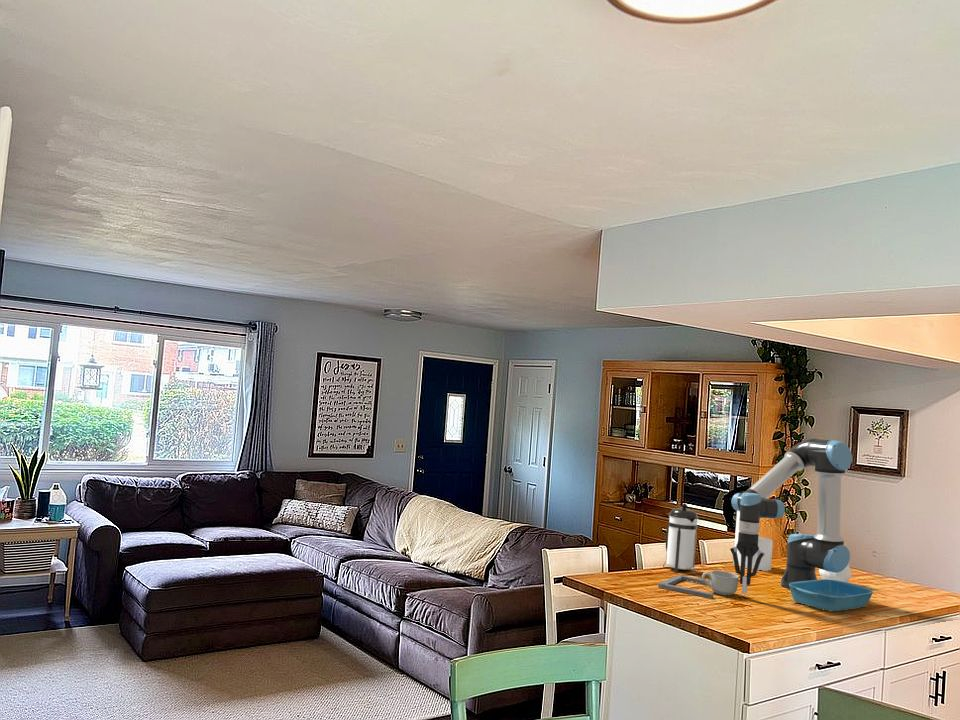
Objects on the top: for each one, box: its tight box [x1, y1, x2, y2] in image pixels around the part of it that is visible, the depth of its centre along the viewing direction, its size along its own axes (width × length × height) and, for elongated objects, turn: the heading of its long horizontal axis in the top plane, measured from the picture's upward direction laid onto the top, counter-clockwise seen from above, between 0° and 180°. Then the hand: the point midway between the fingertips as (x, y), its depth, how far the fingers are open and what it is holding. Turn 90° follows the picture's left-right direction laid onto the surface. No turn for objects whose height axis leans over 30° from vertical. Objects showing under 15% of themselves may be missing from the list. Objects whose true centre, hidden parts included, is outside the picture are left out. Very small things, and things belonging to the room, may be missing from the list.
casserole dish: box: [789, 578, 874, 612], centre depth 310 cm, size 37×22×7 cm, turn 126°
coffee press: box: [662, 502, 699, 573], centre depth 354 cm, size 17×16×30 cm
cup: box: [818, 562, 852, 583], centre depth 356 cm, size 13×13×14 cm
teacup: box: [701, 570, 740, 597], centre depth 312 cm, size 14×11×8 cm
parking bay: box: [657, 574, 714, 599], centre depth 317 cm, size 21×26×2 cm
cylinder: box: [732, 510, 774, 572], centre depth 378 cm, size 17×17×28 cm
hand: (744, 593), depth 307 cm, fingers closed
